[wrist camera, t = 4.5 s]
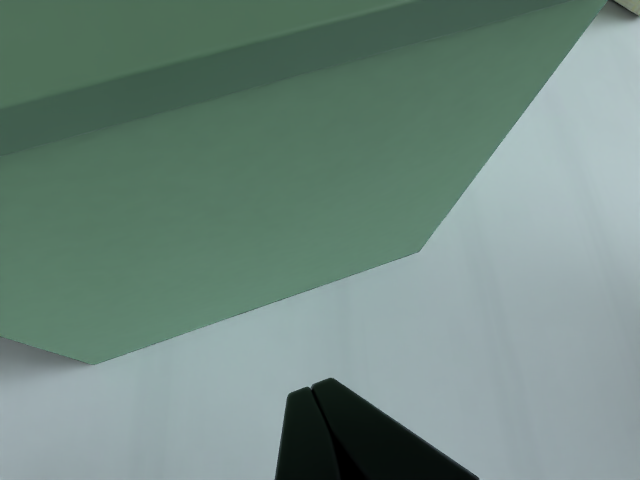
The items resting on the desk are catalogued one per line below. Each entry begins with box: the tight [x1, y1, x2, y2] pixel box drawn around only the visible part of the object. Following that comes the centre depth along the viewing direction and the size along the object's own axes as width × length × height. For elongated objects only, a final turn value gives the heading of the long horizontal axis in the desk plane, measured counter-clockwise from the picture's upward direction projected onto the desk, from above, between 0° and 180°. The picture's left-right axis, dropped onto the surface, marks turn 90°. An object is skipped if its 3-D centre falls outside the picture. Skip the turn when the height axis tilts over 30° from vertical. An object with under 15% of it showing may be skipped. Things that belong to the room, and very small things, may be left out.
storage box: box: [0, 0, 608, 365], centre depth 13 cm, size 11×13×13 cm
